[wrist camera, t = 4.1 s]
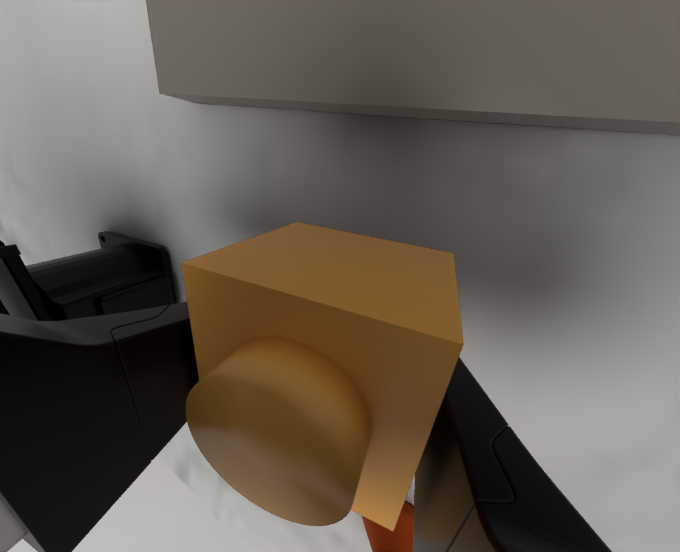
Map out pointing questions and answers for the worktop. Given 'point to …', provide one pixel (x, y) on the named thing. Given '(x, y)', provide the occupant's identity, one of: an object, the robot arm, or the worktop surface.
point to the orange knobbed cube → (320, 367)
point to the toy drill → (392, 533)
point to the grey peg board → (430, 59)
